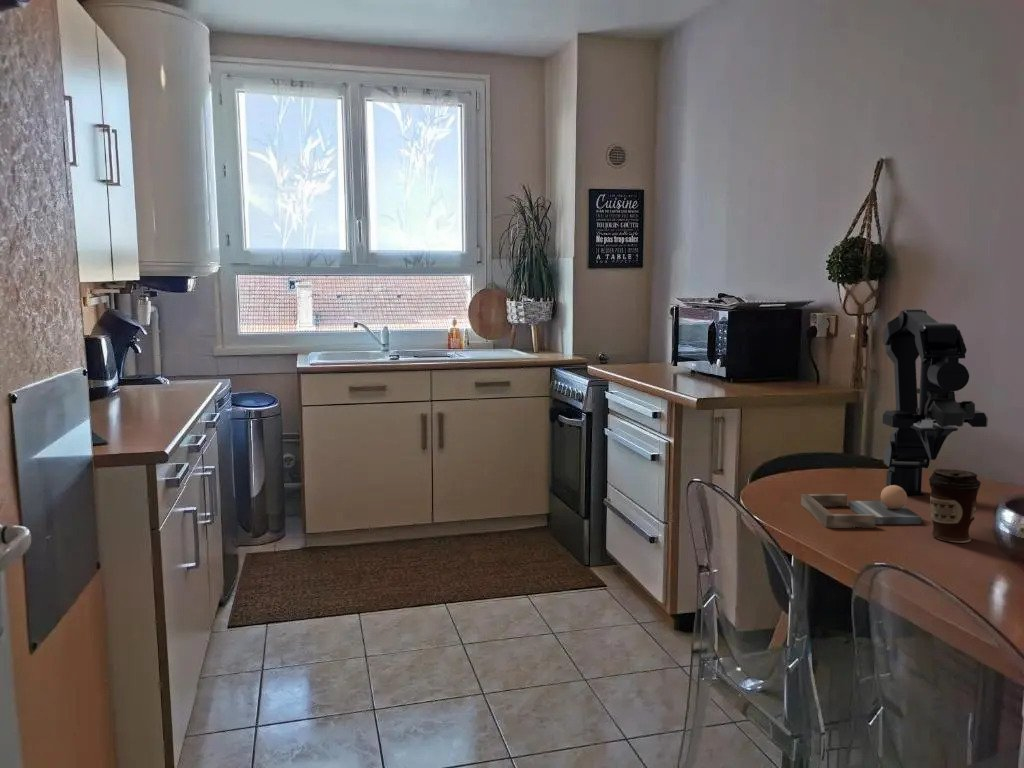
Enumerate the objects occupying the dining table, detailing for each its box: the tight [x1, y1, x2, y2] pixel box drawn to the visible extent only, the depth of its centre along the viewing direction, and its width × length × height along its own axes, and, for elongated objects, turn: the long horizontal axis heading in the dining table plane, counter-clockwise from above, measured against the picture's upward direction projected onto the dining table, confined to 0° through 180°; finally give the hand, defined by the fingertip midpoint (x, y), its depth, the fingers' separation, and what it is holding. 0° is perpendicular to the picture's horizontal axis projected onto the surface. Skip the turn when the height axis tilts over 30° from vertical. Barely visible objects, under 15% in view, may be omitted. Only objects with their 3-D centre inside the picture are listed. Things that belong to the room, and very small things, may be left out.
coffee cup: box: [928, 468, 982, 544], centre depth 147 cm, size 9×8×13 cm
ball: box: [880, 485, 908, 509], centre depth 162 cm, size 5×5×5 cm
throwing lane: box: [800, 493, 922, 529], centre depth 163 cm, size 20×16×2 cm
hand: (932, 459), depth 161 cm, fingers closed
